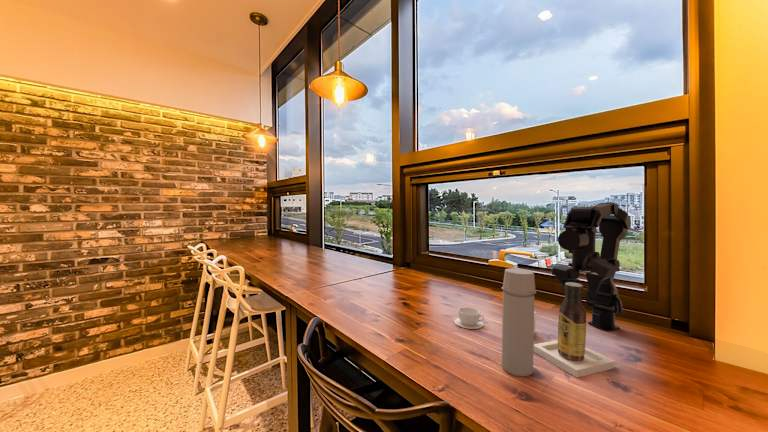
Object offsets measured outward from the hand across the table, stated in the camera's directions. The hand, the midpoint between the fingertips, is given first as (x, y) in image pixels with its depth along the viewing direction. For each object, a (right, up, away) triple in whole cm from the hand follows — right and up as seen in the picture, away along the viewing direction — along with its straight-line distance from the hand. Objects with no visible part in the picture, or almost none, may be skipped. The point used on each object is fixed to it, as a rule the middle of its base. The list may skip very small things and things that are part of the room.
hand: (582, 298), depth 85 cm
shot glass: (-14, -13, +6) cm, 21 cm away
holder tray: (-10, -13, -10) cm, 20 cm away
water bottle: (-27, -14, -14) cm, 33 cm away
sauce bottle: (-10, -13, -10) cm, 19 cm away
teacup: (-31, -13, +13) cm, 36 cm away
